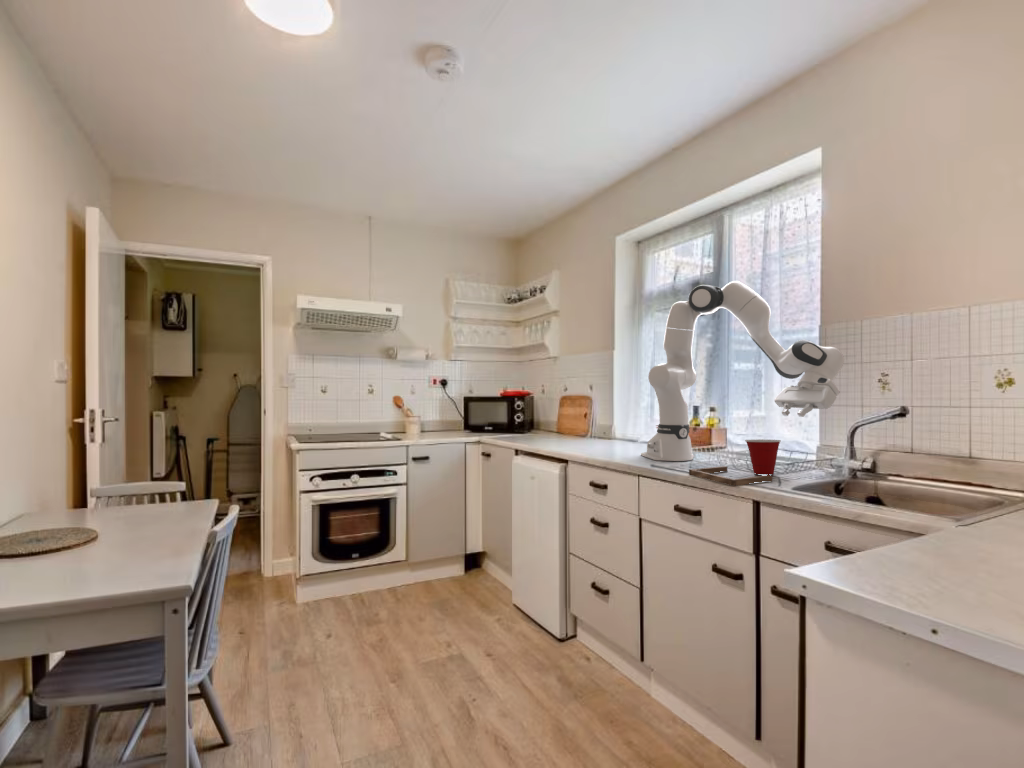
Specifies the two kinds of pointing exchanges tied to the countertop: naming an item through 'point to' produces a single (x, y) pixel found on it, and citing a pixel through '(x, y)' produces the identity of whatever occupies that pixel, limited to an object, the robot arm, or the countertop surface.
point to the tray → (733, 482)
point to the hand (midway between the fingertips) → (792, 415)
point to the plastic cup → (763, 455)
